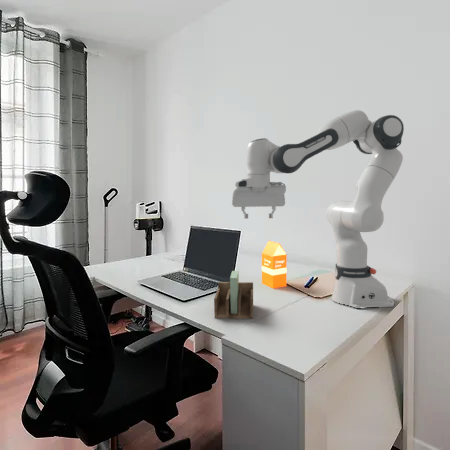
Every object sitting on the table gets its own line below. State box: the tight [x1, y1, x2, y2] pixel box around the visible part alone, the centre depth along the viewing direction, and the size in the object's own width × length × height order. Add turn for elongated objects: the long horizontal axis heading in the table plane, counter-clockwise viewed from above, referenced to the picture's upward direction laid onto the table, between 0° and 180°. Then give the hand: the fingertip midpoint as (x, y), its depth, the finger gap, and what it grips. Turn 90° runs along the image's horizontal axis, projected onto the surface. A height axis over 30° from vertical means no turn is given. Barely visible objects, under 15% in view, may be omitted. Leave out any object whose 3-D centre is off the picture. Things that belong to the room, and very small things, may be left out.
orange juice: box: [261, 240, 288, 289], centre depth 151 cm, size 8×9×20 cm
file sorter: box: [213, 281, 254, 320], centre depth 121 cm, size 13×13×9 cm
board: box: [229, 270, 240, 314], centre depth 120 cm, size 2×9×13 cm, turn 174°
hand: (258, 218), depth 128 cm, fingers open, 8 cm apart
